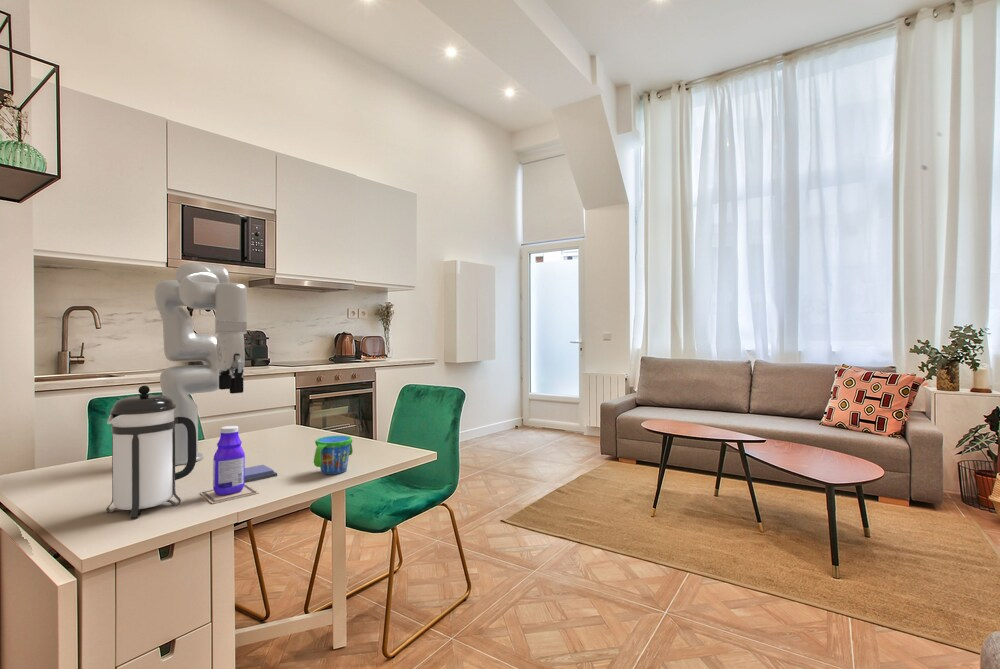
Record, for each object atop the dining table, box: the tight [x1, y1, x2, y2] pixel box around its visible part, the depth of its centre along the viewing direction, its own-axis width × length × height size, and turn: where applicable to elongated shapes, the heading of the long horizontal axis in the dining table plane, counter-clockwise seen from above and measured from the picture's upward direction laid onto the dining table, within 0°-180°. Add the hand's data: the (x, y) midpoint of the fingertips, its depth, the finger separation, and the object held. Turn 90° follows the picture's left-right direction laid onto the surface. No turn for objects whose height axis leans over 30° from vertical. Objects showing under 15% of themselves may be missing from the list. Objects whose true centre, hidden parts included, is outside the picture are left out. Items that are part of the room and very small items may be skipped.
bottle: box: [212, 425, 246, 495], centre depth 128 cm, size 7×6×17 cm
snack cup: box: [313, 435, 353, 475], centre depth 147 cm, size 16×10×10 cm
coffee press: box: [105, 385, 197, 520], centre depth 118 cm, size 17×16×30 cm
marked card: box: [199, 482, 259, 505], centre depth 127 cm, size 11×11×1 cm
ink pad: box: [244, 464, 278, 484], centre depth 143 cm, size 10×10×2 cm
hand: (230, 391), depth 131 cm, fingers open, 9 cm apart
